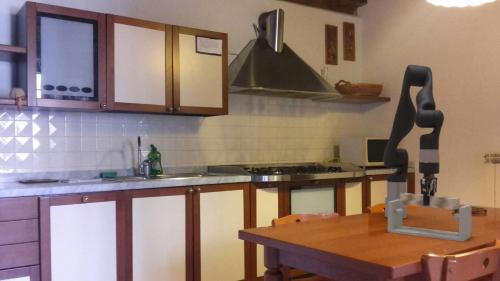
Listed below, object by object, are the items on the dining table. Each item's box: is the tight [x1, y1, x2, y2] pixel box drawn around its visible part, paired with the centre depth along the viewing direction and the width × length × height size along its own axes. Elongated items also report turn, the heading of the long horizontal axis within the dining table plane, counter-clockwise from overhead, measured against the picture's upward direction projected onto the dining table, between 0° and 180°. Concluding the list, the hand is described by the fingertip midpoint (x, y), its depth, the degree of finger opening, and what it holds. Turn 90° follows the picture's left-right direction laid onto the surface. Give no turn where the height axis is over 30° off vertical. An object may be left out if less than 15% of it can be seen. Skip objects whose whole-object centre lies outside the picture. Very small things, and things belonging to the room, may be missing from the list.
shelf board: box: [400, 192, 460, 211], centre depth 182 cm, size 22×5×4 cm, turn 40°
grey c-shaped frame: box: [387, 199, 472, 242], centre depth 182 cm, size 28×12×12 cm, turn 52°
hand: (428, 204), depth 182 cm, fingers closed on shelf board, 5 cm apart
